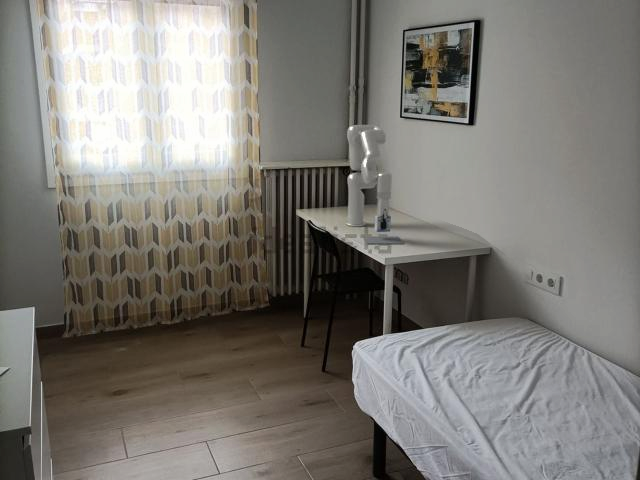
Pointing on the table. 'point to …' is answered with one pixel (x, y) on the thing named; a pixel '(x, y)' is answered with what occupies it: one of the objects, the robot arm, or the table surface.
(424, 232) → the table surface
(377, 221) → the medicine box
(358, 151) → the robot arm
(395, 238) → the rubber mat
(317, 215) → the table surface
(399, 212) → the table surface
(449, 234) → the table surface
